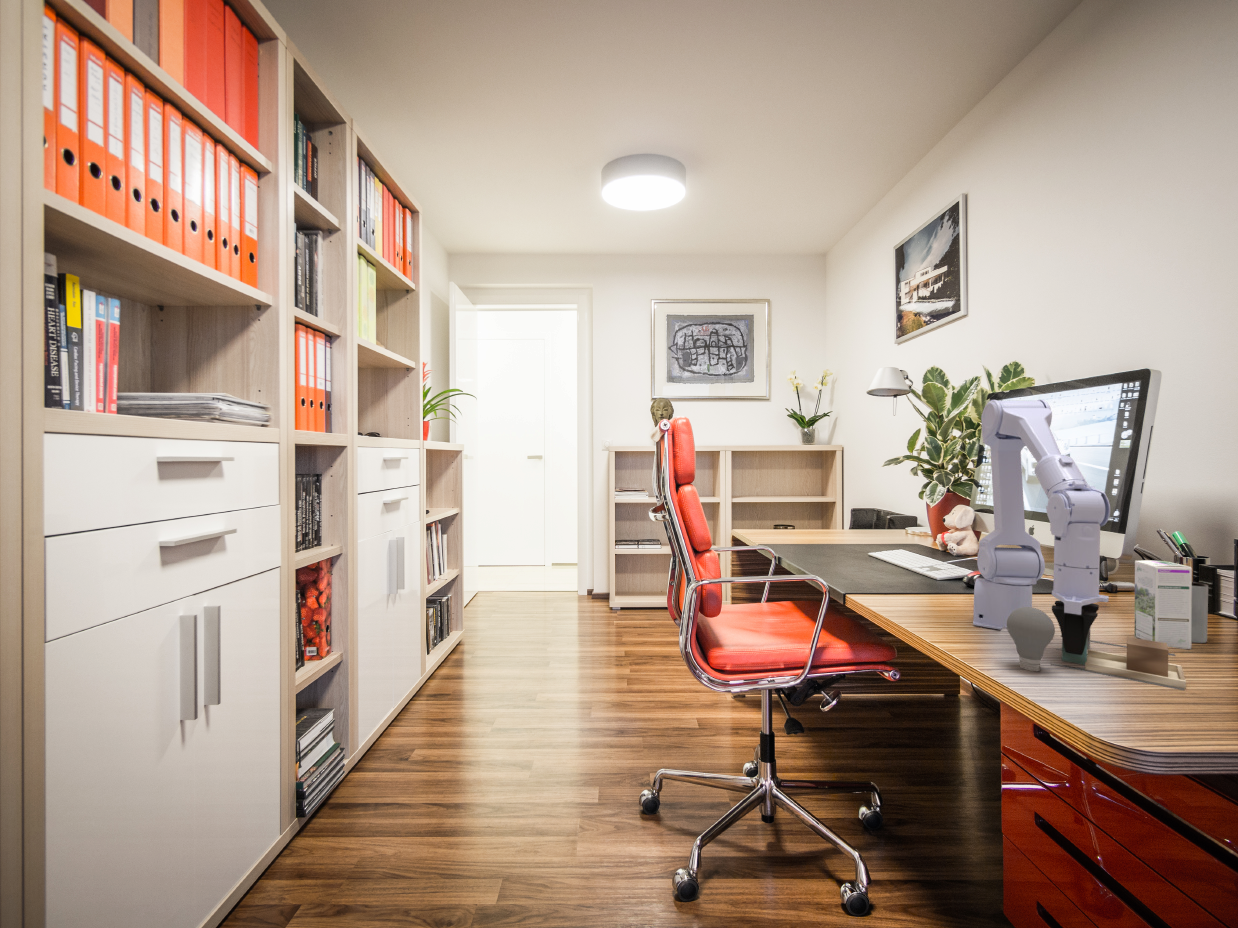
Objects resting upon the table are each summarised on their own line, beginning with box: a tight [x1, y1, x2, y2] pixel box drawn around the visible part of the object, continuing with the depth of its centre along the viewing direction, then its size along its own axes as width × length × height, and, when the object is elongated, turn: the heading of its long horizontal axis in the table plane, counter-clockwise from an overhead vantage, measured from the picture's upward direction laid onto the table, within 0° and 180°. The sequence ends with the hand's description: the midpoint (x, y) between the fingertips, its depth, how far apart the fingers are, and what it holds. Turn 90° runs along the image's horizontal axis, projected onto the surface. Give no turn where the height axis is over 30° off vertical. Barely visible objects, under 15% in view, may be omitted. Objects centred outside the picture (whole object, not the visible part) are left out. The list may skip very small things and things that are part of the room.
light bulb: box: [1006, 606, 1056, 672], centre depth 89 cm, size 6×6×10 cm
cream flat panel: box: [1087, 628, 1091, 651], centre depth 96 cm, size 14×8×4 cm, turn 49°
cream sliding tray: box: [1061, 639, 1187, 690], centre depth 89 cm, size 14×8×6 cm, turn 49°
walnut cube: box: [1126, 636, 1169, 677], centre depth 87 cm, size 4×4×4 cm
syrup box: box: [1133, 559, 1193, 650], centre depth 104 cm, size 6×6×14 cm
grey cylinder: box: [1191, 581, 1209, 644], centre depth 107 cm, size 4×4×10 cm
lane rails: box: [1050, 635, 1186, 691], centre depth 93 cm, size 15×20×1 cm
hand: (1074, 650), depth 93 cm, fingers closed on cream sliding tray, 3 cm apart
